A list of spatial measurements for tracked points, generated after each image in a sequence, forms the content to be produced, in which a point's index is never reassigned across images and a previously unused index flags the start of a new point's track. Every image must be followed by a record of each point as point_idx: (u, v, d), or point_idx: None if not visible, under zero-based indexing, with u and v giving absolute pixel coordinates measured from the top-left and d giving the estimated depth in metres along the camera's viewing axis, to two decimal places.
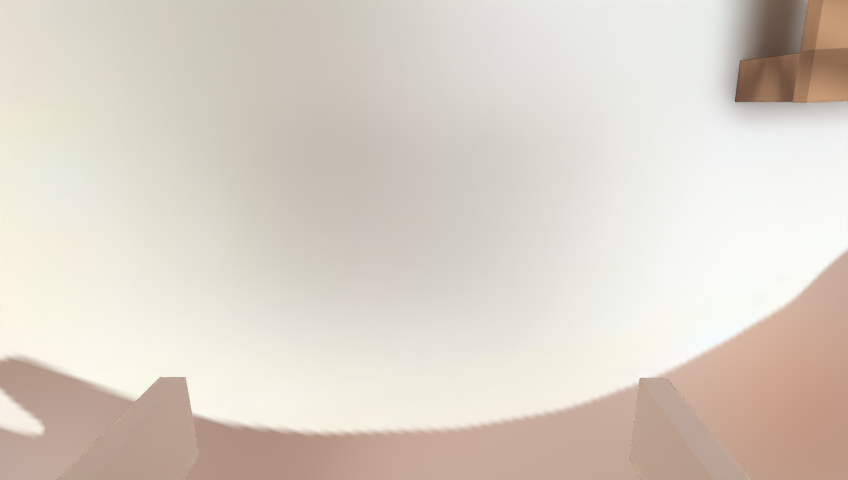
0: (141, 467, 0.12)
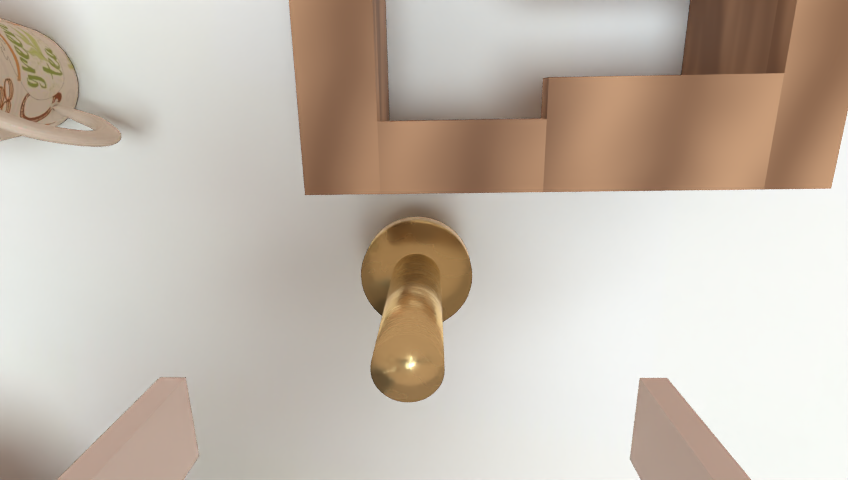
0: (141, 467, 0.12)
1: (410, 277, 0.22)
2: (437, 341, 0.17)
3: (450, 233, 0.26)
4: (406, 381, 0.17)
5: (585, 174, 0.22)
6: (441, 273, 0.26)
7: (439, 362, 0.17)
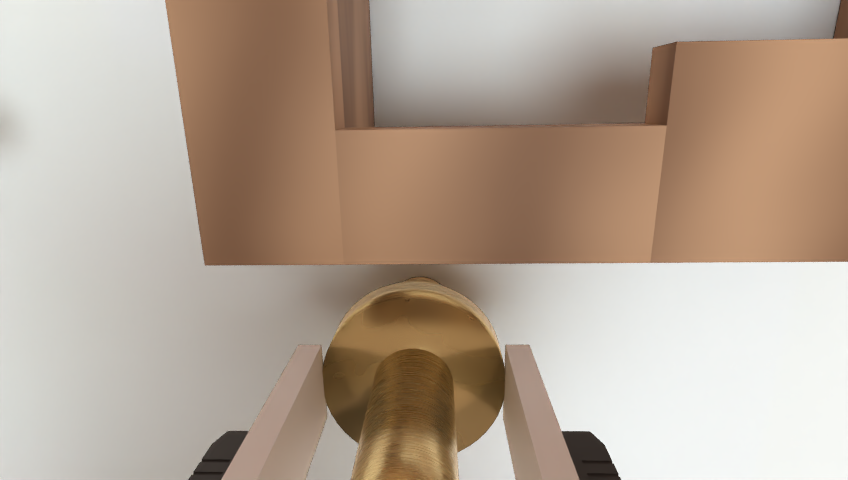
0: (303, 418, 0.14)
1: (399, 422, 0.12)
2: None
3: (470, 315, 0.15)
4: None
5: (733, 231, 0.11)
6: (455, 379, 0.16)
7: None
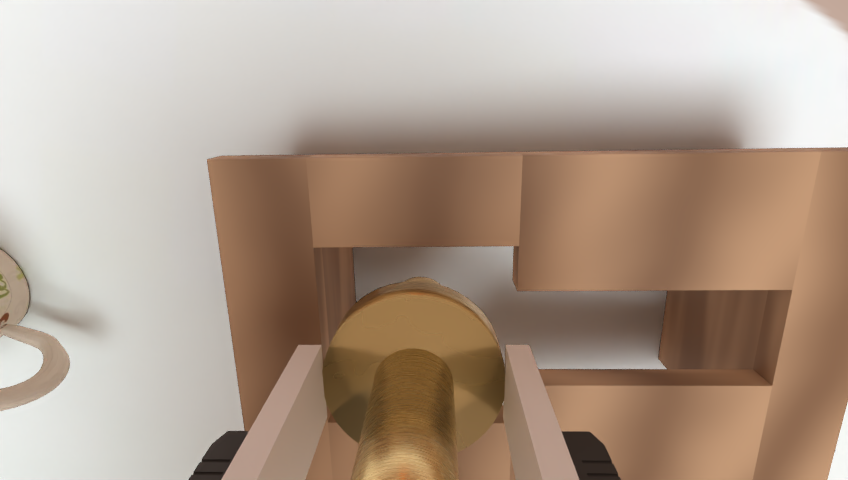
0: (303, 418, 0.14)
1: (399, 422, 0.12)
2: None
3: (470, 315, 0.15)
4: None
5: None
6: (455, 379, 0.16)
7: None
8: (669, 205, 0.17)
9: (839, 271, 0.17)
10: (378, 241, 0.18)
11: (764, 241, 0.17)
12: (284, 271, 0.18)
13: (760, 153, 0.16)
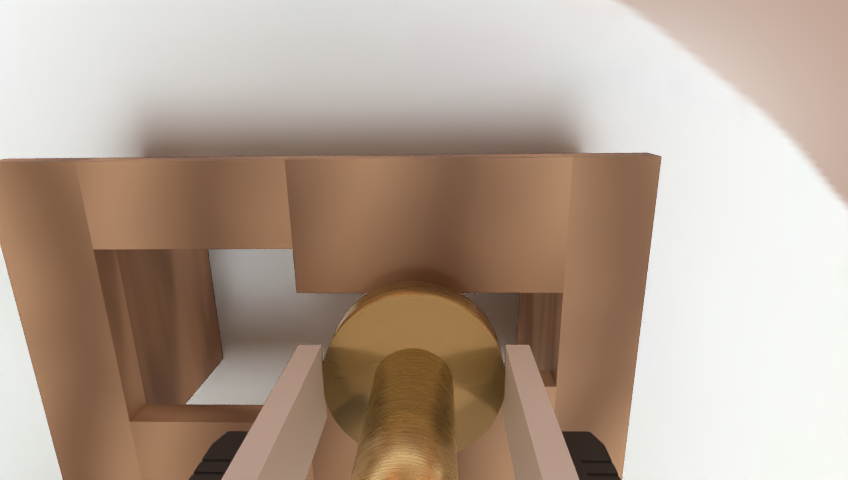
0: (303, 418, 0.14)
1: (399, 422, 0.12)
2: None
3: (470, 315, 0.15)
4: None
5: None
6: (454, 379, 0.16)
7: None
8: (432, 209, 0.17)
9: (606, 274, 0.18)
10: (155, 243, 0.18)
11: (529, 245, 0.17)
12: (68, 273, 0.18)
13: (514, 158, 0.17)
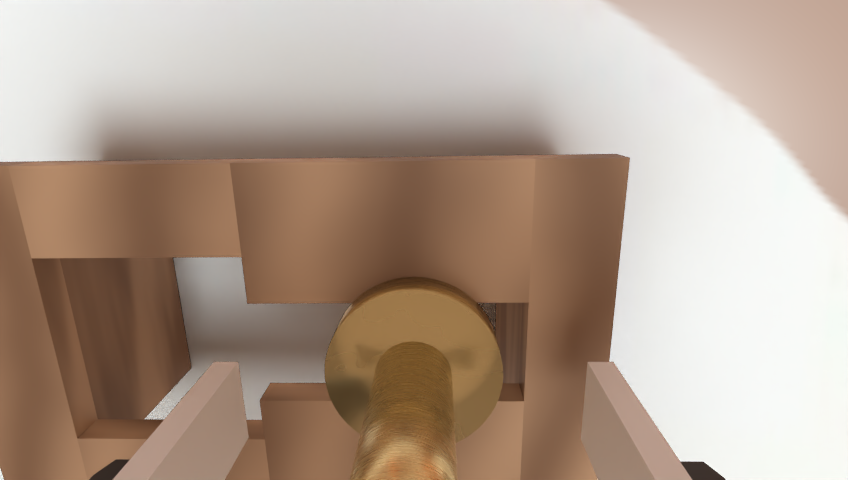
0: (205, 443, 0.13)
1: (400, 410, 0.12)
2: None
3: (468, 309, 0.16)
4: None
5: None
6: (453, 371, 0.16)
7: None
8: (388, 214, 0.16)
9: (573, 283, 0.17)
10: (96, 252, 0.17)
11: (491, 252, 0.16)
12: (6, 283, 0.17)
13: (473, 161, 0.16)
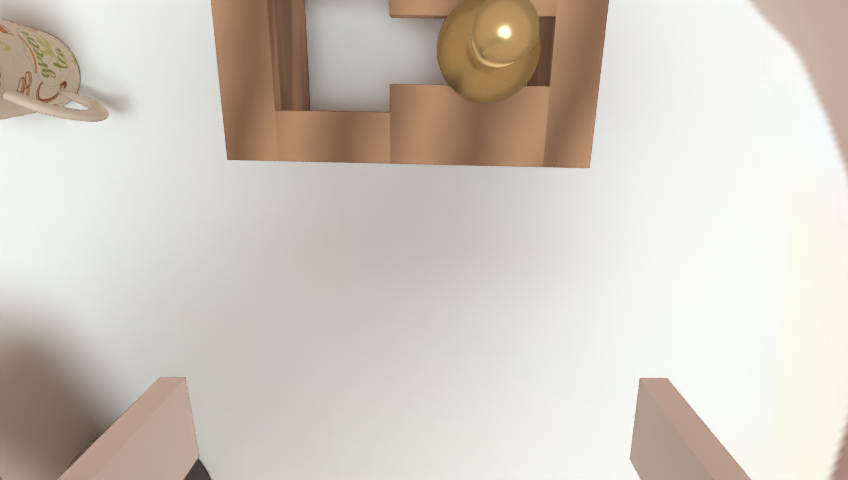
0: (141, 467, 0.12)
1: None
2: None
3: None
4: (504, 40, 0.19)
5: (418, 152, 0.32)
6: None
7: (535, 21, 0.19)
8: None
9: (583, 3, 0.29)
10: None
11: None
12: None
13: None
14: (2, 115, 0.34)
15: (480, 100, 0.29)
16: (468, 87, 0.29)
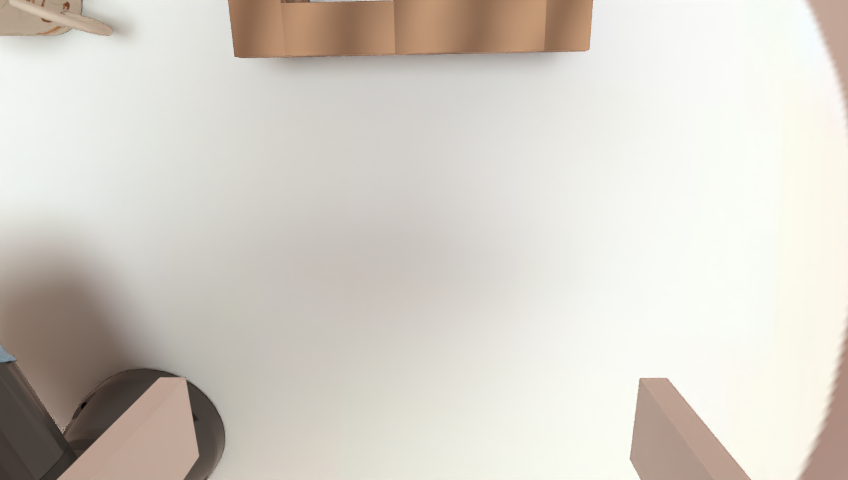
0: (141, 467, 0.12)
1: None
2: None
3: None
4: None
5: (422, 40, 0.32)
6: None
7: None
8: None
9: None
10: None
11: None
12: None
13: None
14: (8, 26, 0.35)
15: None
16: None
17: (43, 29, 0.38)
